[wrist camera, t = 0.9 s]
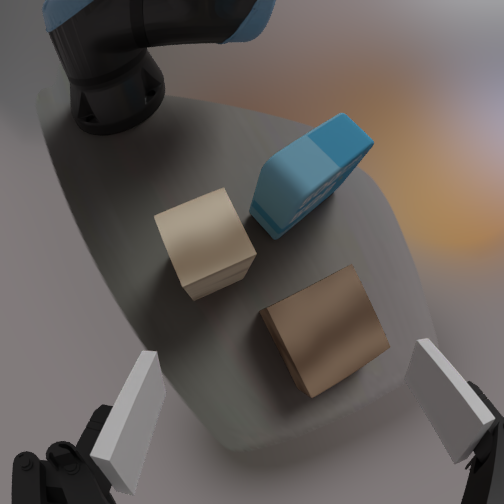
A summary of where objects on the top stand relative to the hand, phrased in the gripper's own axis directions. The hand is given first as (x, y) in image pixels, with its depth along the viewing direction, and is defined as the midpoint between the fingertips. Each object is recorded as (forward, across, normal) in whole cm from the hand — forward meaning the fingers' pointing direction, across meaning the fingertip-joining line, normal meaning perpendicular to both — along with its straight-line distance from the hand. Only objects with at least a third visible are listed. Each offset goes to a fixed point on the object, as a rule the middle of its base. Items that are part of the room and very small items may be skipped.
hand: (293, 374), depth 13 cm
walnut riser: (+17, +5, -8) cm, 20 cm away
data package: (+25, +4, +5) cm, 26 cm away
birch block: (+20, -7, -1) cm, 21 cm away
